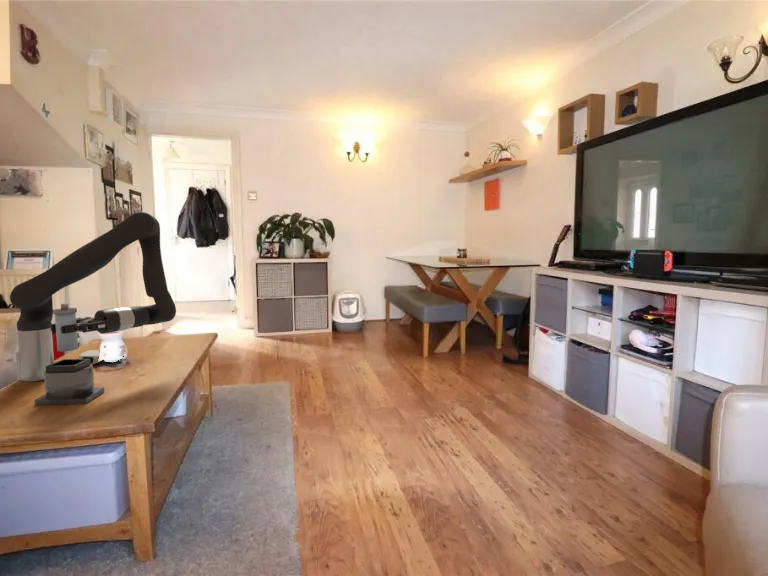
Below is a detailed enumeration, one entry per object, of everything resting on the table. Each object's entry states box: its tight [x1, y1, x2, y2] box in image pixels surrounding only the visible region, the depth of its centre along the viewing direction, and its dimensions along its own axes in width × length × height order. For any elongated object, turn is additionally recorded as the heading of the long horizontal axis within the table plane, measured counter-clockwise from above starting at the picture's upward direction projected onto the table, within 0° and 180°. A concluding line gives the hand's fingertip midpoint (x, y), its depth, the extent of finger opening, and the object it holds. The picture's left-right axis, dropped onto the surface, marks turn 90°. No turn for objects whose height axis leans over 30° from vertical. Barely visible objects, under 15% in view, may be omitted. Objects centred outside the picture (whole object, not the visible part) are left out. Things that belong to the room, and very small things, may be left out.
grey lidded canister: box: [53, 303, 79, 352], centre depth 132 cm, size 6×6×14 cm
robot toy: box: [75, 349, 99, 366], centre depth 172 cm, size 12×4×15 cm
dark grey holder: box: [34, 358, 105, 406], centre depth 134 cm, size 14×14×11 cm
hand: (56, 329), depth 129 cm, fingers closed on grey lidded canister, 5 cm apart
